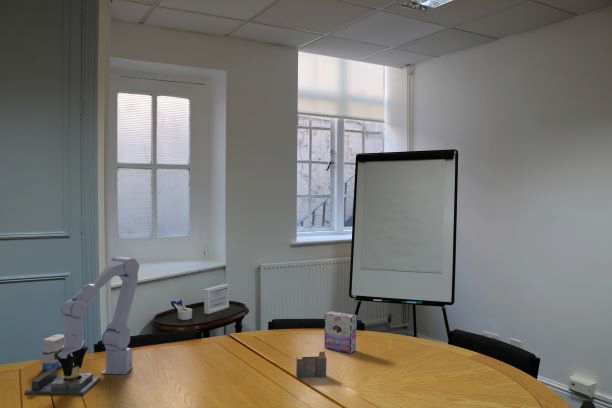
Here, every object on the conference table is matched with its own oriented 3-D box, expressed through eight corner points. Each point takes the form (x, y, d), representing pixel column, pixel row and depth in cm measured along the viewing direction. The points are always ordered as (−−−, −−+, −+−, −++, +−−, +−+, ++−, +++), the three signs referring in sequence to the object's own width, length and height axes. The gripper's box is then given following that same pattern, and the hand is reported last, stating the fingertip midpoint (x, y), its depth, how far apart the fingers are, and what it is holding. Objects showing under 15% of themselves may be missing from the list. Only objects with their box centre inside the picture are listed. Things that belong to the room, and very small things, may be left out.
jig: (100, 379, 178) (100, 368, 178) (83, 395, 164) (83, 383, 164) (46, 378, 178) (46, 367, 178) (24, 394, 164) (24, 382, 164)
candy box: (356, 350, 217) (357, 314, 217) (350, 354, 212) (351, 317, 212) (330, 345, 225) (330, 310, 224) (323, 348, 220) (324, 312, 219)
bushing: (81, 381, 173) (81, 364, 173) (74, 386, 168) (74, 369, 168) (69, 381, 173) (69, 364, 173) (62, 385, 169) (62, 368, 169)
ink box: (52, 371, 185) (53, 340, 185) (41, 369, 186) (42, 339, 186) (68, 363, 193) (68, 334, 193) (57, 362, 194) (57, 333, 194)
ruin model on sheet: (324, 375, 188) (325, 350, 188) (326, 378, 185) (326, 353, 185) (295, 376, 186) (296, 351, 186) (297, 379, 183) (297, 354, 183)
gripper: (71, 327, 178) (71, 364, 178) (51, 339, 163) (51, 379, 163) (90, 328, 178) (90, 364, 178) (72, 340, 163) (71, 379, 164)
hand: (72, 371), depth 171 cm, fingers open, 7 cm apart
